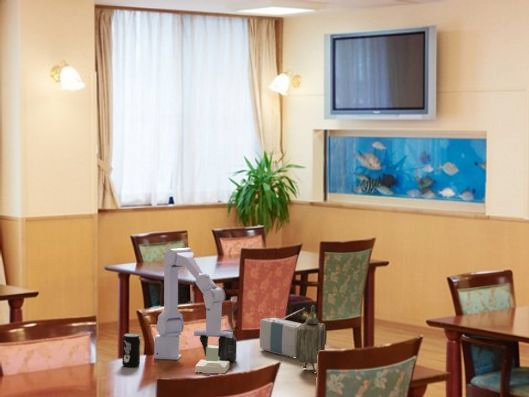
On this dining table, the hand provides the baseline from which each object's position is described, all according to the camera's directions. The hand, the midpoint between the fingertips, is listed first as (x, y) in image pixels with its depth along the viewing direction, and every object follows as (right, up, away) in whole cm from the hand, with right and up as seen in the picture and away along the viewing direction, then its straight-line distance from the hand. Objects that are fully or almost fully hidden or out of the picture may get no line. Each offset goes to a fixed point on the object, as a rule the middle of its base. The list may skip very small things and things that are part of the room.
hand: (212, 355), depth 400 cm
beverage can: (-31, -5, +3) cm, 32 cm away
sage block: (0, -2, 0) cm, 2 cm away
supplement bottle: (+5, -5, +17) cm, 18 cm away
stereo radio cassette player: (+27, -4, +33) cm, 43 cm away
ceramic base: (0, -6, 0) cm, 6 cm away
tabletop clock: (+37, -6, +5) cm, 38 cm away
